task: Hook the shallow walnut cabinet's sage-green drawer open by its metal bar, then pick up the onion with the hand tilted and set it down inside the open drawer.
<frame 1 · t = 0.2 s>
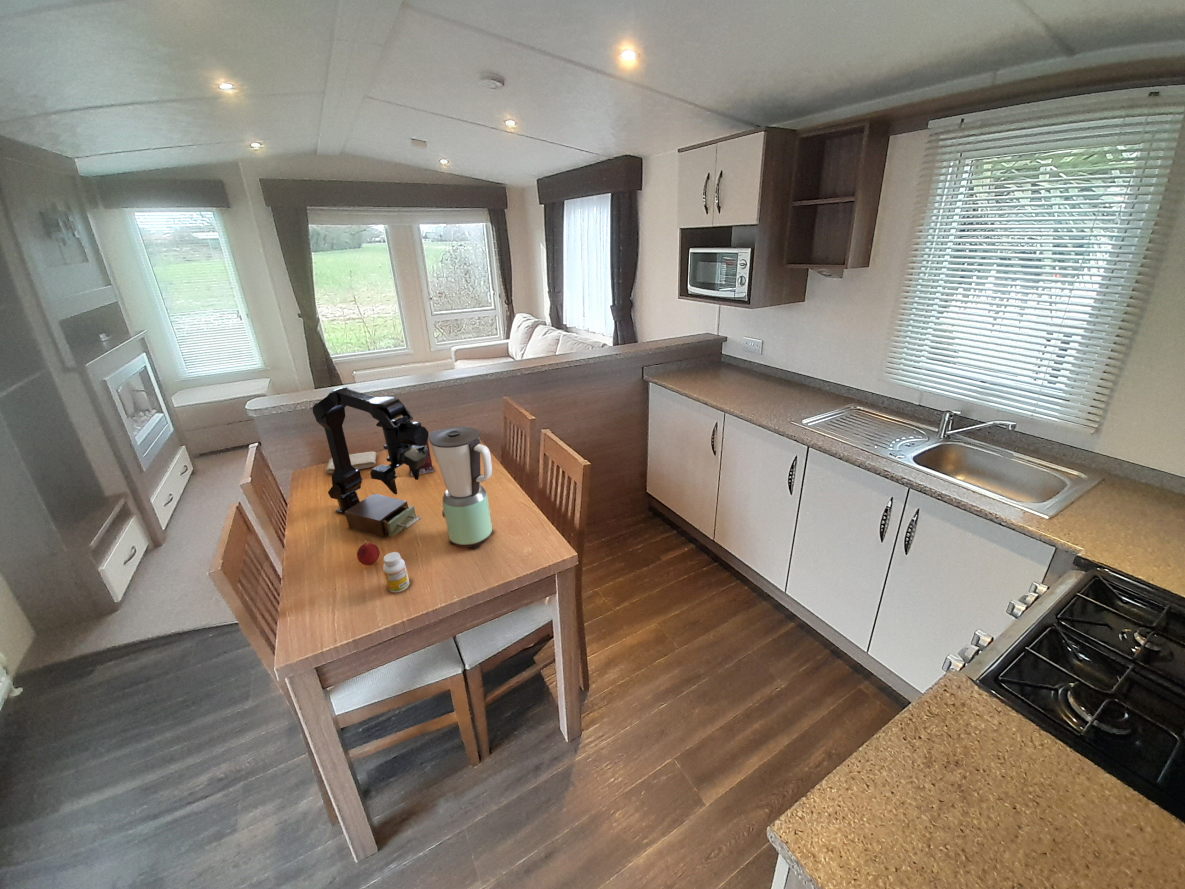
hand: (406, 486, 146), 14 cm above the table, tool pointing down, fingers open, 9 cm apart
onion: (371, 565, 135), on the table
washcloth: (353, 465, 193), on the table
cabinet: (380, 523, 154), on the table
supplement box: (422, 472, 186), on the table
supplement bottle: (399, 586, 127), on the table
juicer: (473, 538, 146), on the table
drawer: (392, 518, 151), point 3 cm above the table, slide at 2.0 cm
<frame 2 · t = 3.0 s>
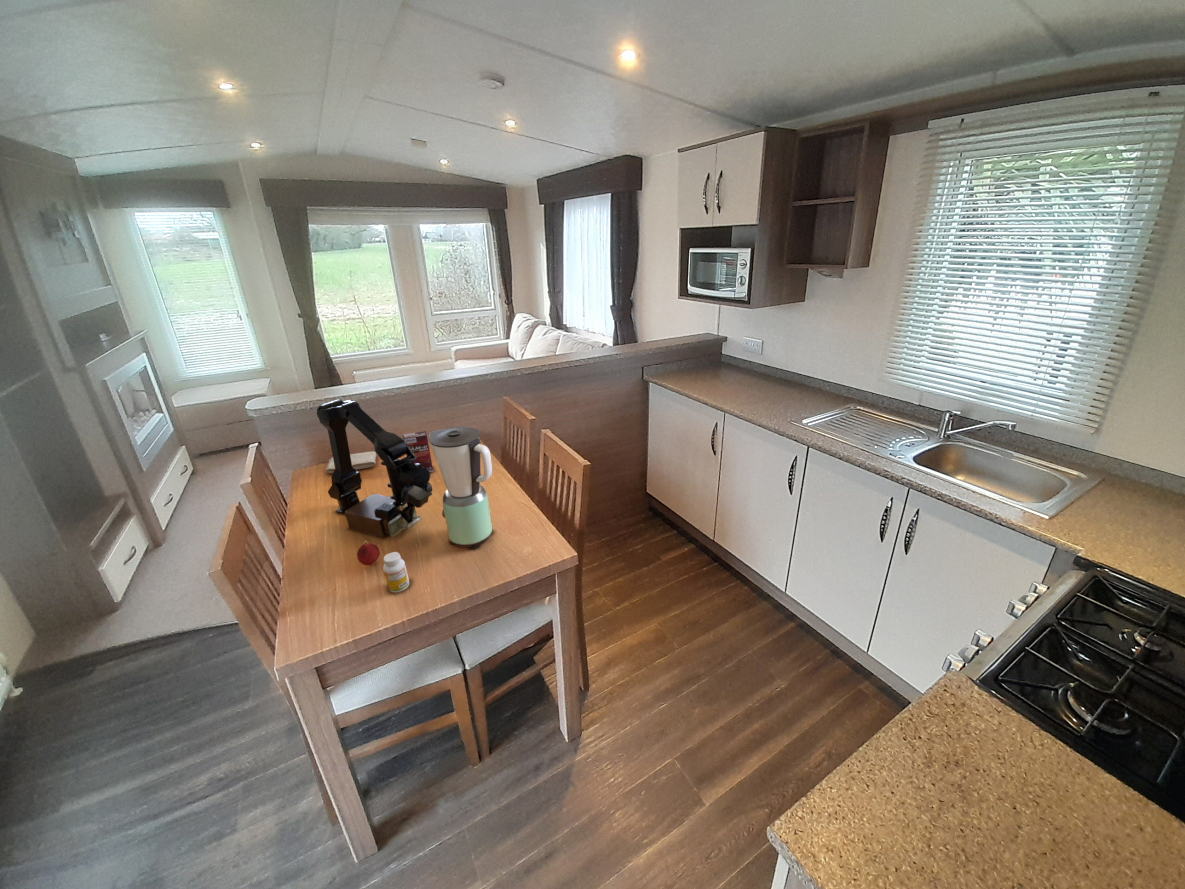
hand: (410, 522, 148), 3 cm above the table, tool pointing down, fingers closed
drawer: (393, 518, 151), point 3 cm above the table, slide at 2.4 cm
everything else where it was.
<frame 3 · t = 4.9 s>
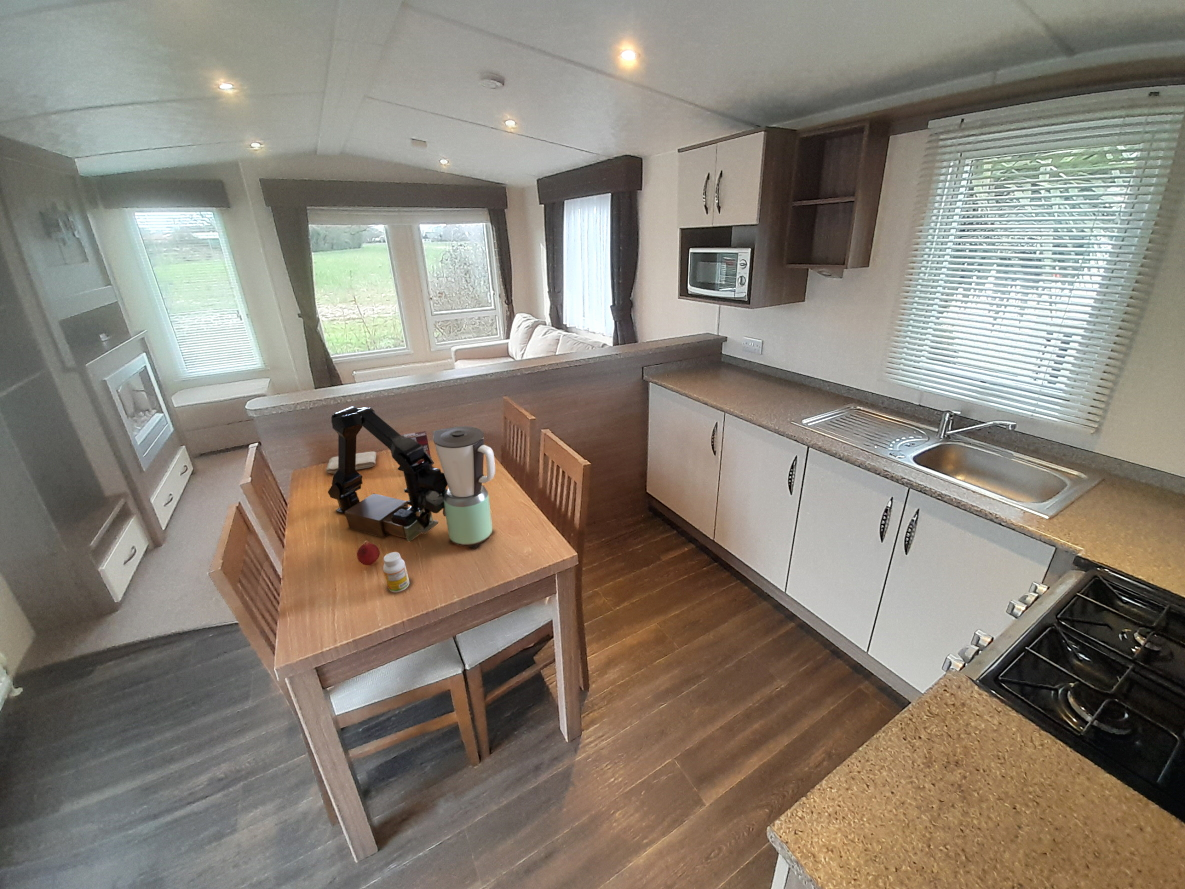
hand: (426, 528, 146), 3 cm above the table, tool pointing down, fingers closed, pressing on drawer
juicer: (473, 537, 146), on the table, touching arm
drawer: (409, 522, 148), point 3 cm above the table, slide at 8.9 cm, touching gripper
everything else where it was.
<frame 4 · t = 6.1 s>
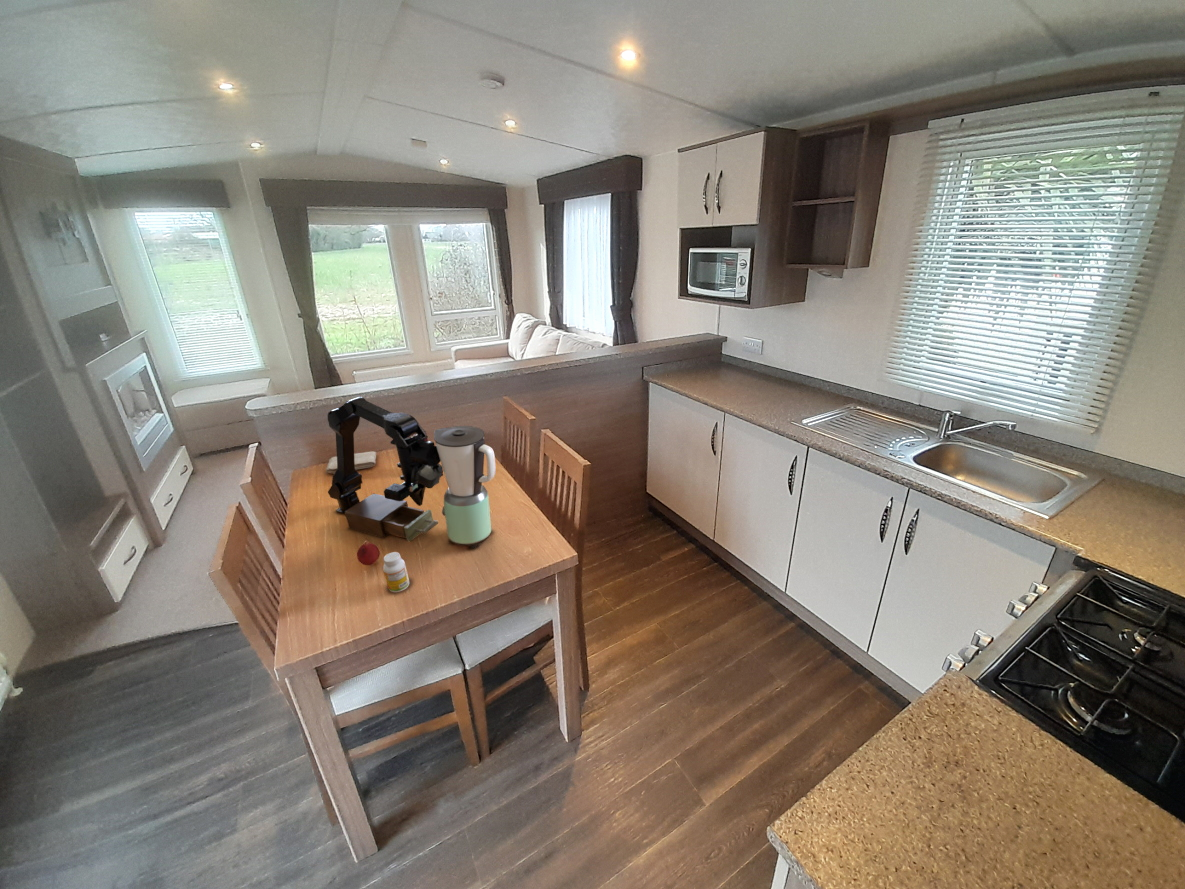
hand: (420, 505, 143), 11 cm above the table, tool pointing down, fingers closed
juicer: (472, 537, 146), on the table
drawer: (409, 522, 148), point 3 cm above the table, slide at 8.9 cm
everything else where it was.
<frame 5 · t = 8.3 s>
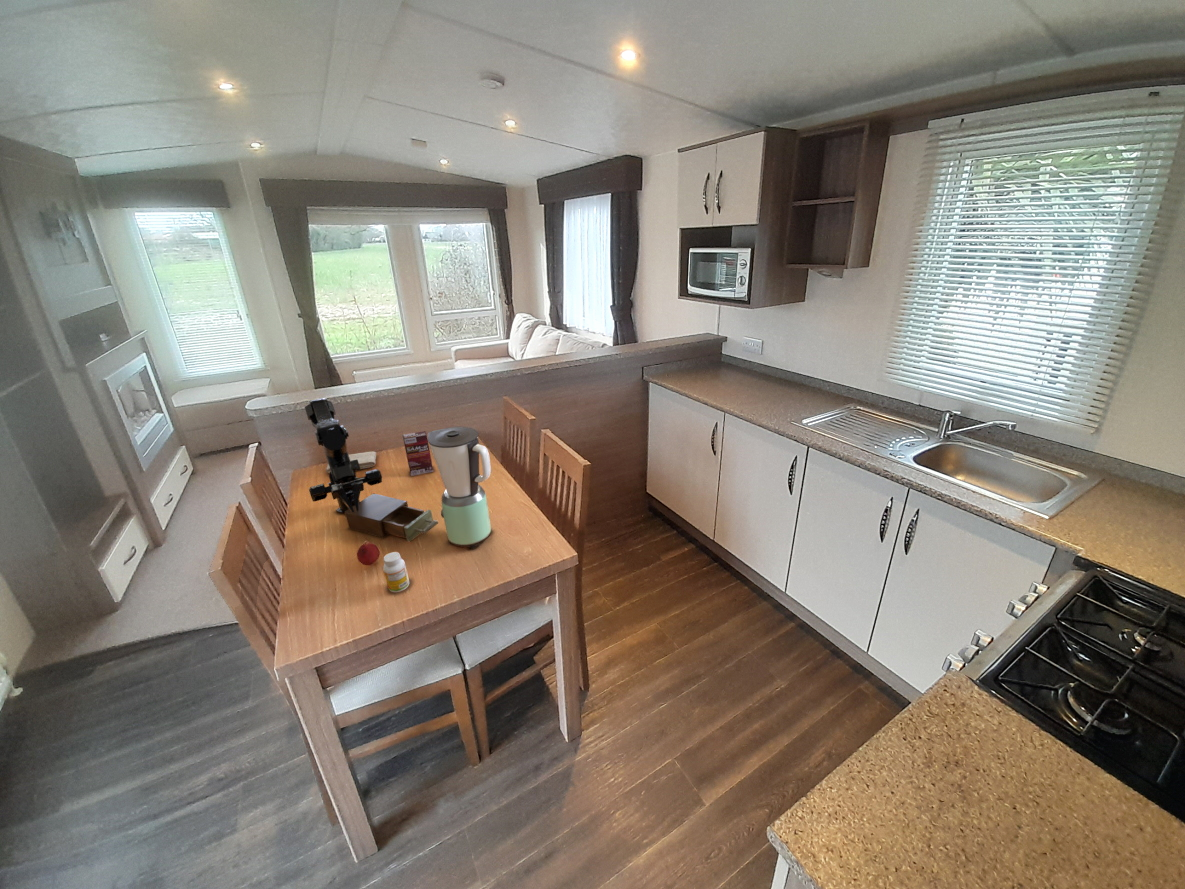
hand: (355, 511, 136), 13 cm above the table, tool tilted 45°, fingers closed
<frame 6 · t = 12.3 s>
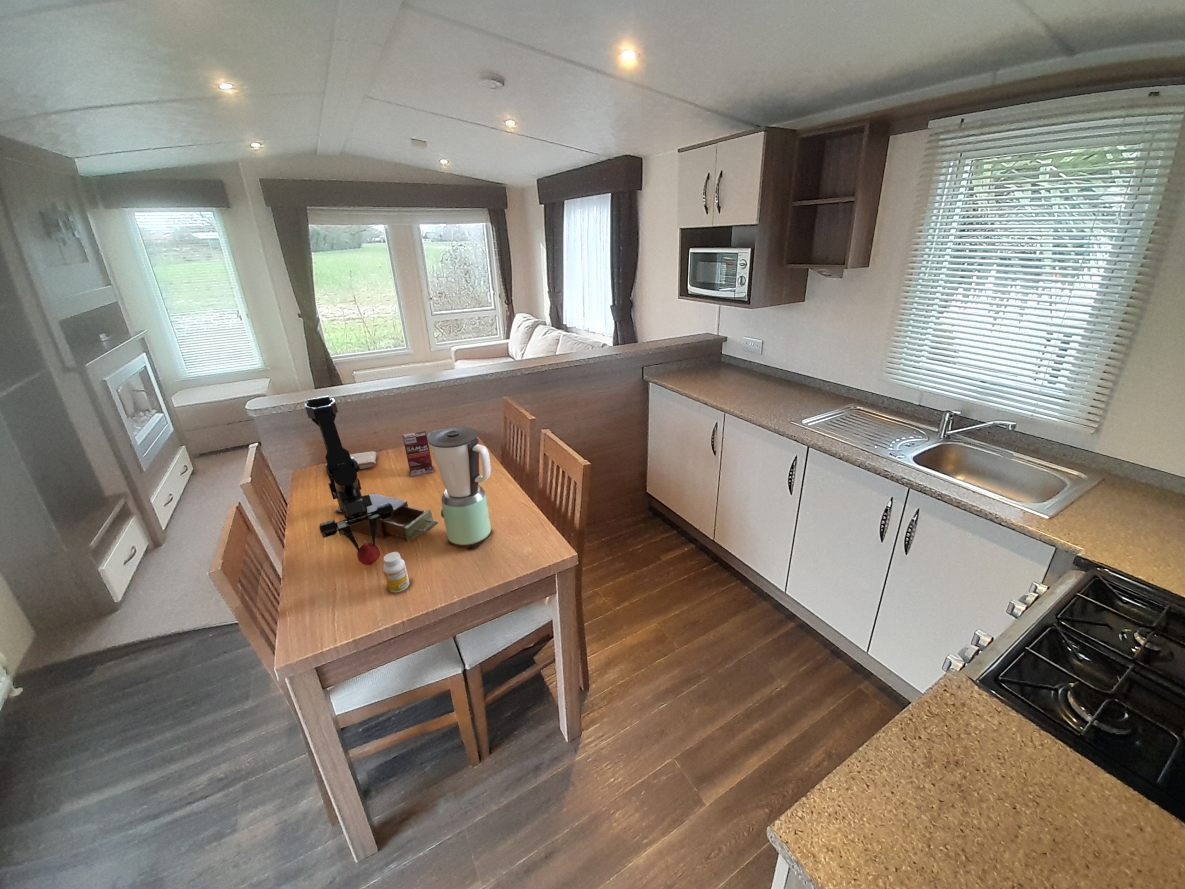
hand: (366, 548, 131), 7 cm above the table, tool tilted 45°, fingers closed on onion, 4 cm apart
onion: (371, 565, 135), on the table, touching gripper
everything else where it was.
when the fingers open (9 cm above the table, at t = 18.6 s): onion stays where it is, resting on drawer.
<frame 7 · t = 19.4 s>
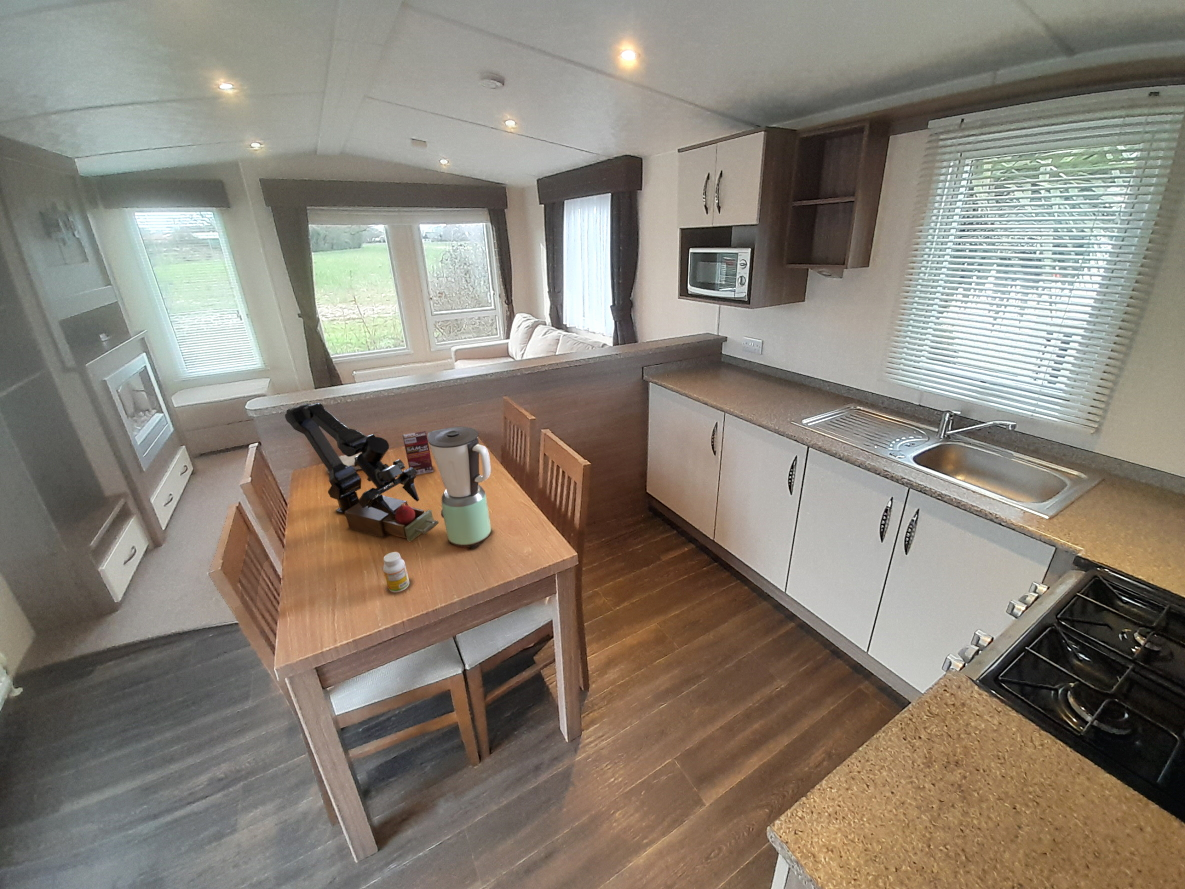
hand: (406, 507, 146), 9 cm above the table, tool tilted 45°, fingers open, 9 cm apart
onion: (407, 525, 149), point 2 cm above the table, touching drawer
drawer: (409, 522, 148), point 3 cm above the table, slide at 9.0 cm, touching onion
everything else where it was.
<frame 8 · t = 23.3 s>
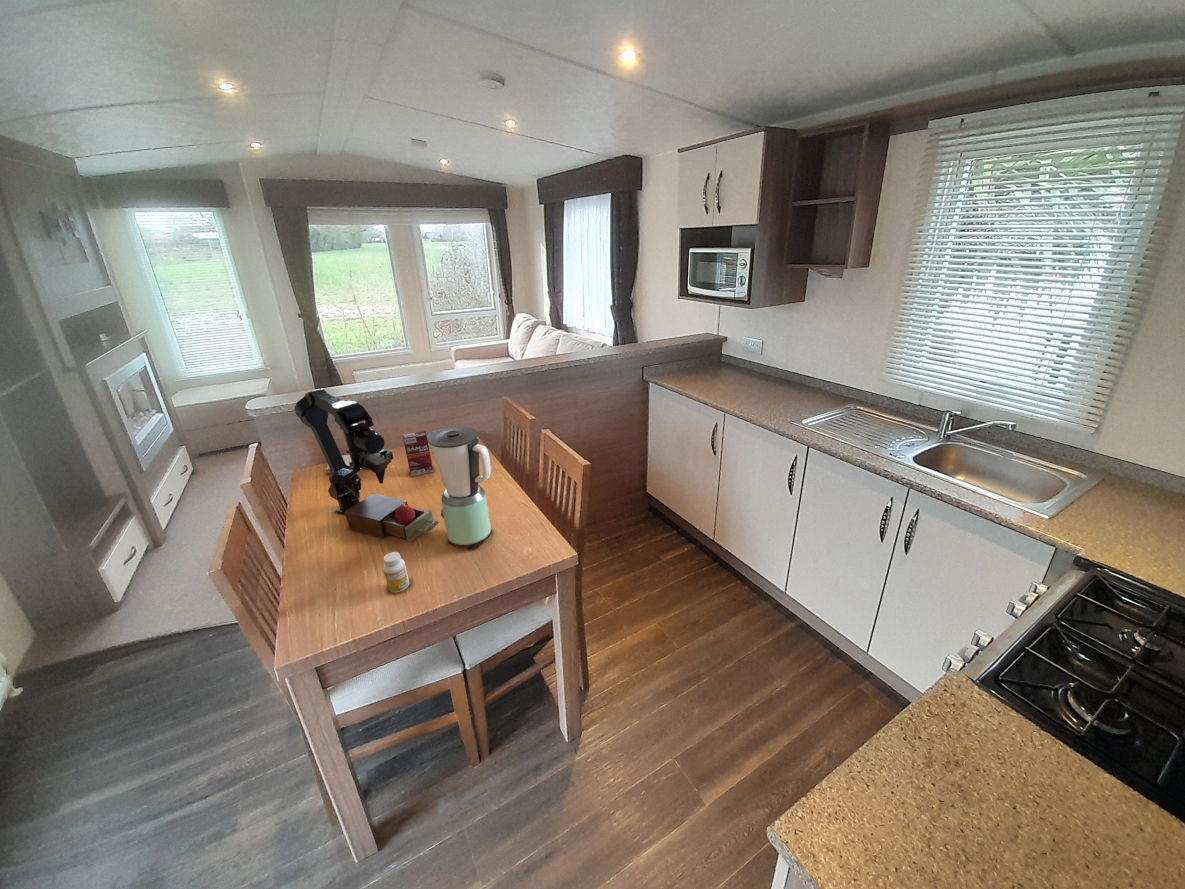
hand: (370, 490, 148), 13 cm above the table, tool pointing down, fingers open, 9 cm apart
nothing on the table moved.
at the end: drawer slide at 9.0 cm; onion inside the target area in the drawer (0.8 cm from its centre), point 1.7 cm above the cabinet's base; the gripper is holding nothing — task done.
